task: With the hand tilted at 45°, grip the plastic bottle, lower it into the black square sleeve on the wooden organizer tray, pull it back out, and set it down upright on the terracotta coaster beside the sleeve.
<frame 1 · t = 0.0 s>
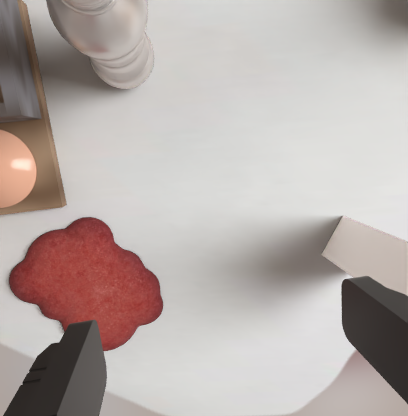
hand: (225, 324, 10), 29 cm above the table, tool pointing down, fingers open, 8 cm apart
milk: (348, 243, 43), on the table
red flat piece: (93, 285, 41), on the table
plastic bottle: (124, 60, 35), on the table
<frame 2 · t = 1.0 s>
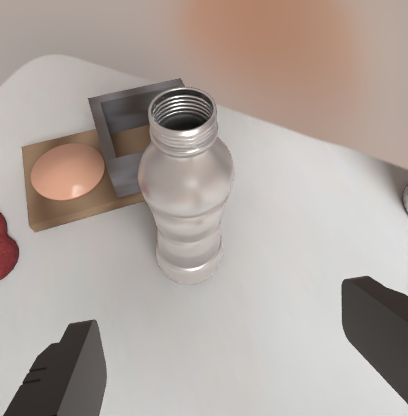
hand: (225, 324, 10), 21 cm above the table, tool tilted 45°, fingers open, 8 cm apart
terracotta coaster: (69, 171, 38), resting on wooden organizer tray
plastic bottle: (190, 261, 34), on the table
wooden organizer tray: (117, 167, 40), on the table
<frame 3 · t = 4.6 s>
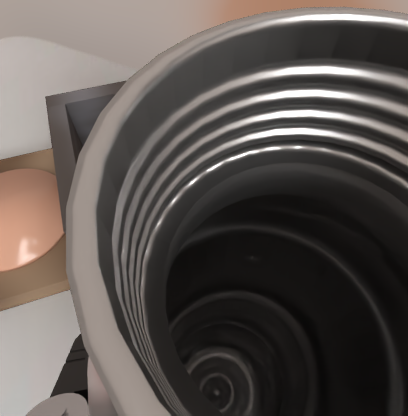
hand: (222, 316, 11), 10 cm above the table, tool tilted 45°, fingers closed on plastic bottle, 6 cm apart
terracotta coaster: (13, 217, 23), resting on wooden organizer tray
plastic bottle: (216, 392, 19), on the table, touching gripper
wooden organizer tray: (96, 207, 25), on the table
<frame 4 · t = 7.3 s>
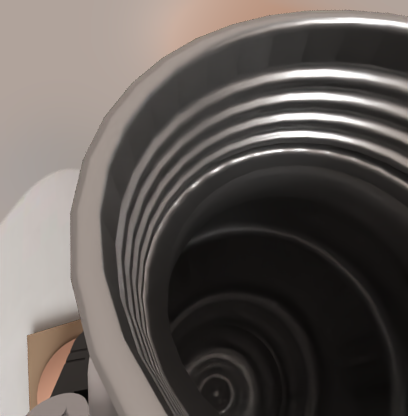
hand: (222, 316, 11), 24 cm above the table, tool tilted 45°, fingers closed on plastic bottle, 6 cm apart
terracotta coaster: (87, 383, 29), resting on wooden organizer tray
plastic bottle: (216, 393, 19), point 13 cm above the table, touching gripper
wooden organizer tray: (148, 365, 31), on the table
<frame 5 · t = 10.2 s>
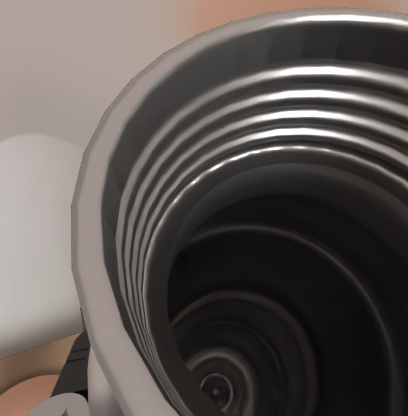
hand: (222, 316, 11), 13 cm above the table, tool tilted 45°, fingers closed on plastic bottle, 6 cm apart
plastic bottle: (215, 392, 19), point 2 cm above the table, touching gripper
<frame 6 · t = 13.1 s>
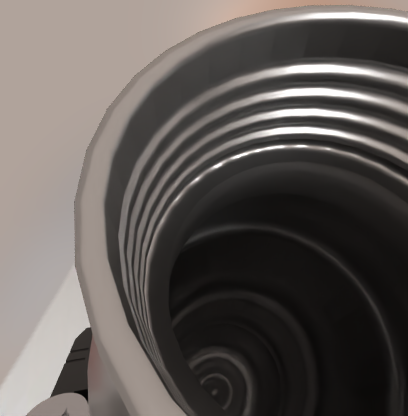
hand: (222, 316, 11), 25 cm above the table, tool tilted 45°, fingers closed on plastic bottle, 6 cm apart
plastic bottle: (215, 392, 19), point 14 cm above the table, touching gripper
when the fingers open (14 cm above the table, at t = 15.7 s): plastic bottle drops 1 cm, resting on terracotta coaster.
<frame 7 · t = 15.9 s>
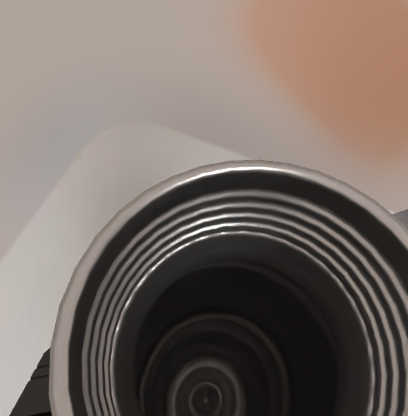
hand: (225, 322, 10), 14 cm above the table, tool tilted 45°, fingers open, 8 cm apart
plastic bottle: (206, 400, 20), point 2 cm above the table, touching gripper, terracotta coaster
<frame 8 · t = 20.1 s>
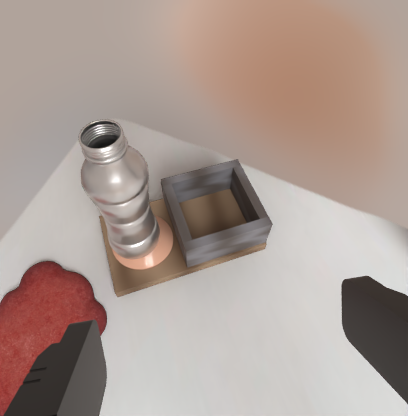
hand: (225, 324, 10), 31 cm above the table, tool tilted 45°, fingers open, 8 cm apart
terracotta coaster: (142, 241, 44), resting on wooden organizer tray
red flat piece: (34, 335, 40), on the table
plastic bottle: (137, 242, 44), point 2 cm above the table, touching terracotta coaster
wooden organizer tray: (181, 234, 47), on the table
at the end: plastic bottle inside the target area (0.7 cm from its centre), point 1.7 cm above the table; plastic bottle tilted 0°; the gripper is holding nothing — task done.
